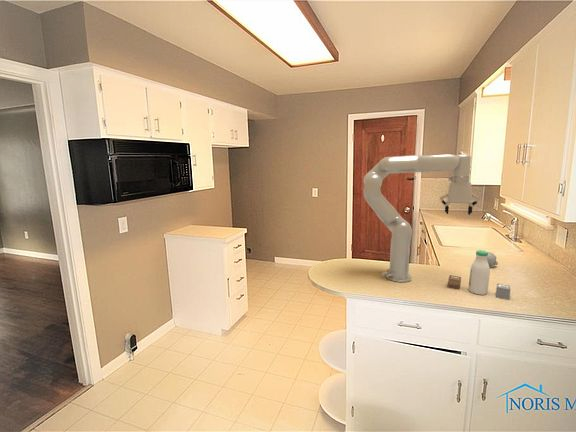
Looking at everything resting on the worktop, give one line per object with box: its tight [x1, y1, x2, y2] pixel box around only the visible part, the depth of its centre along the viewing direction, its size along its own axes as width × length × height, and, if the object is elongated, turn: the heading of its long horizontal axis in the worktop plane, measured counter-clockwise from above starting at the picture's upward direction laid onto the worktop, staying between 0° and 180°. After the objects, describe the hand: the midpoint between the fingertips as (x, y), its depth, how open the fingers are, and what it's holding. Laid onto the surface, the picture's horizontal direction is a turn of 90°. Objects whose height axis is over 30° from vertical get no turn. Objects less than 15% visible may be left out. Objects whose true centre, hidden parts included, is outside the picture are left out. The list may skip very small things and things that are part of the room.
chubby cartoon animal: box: [487, 251, 499, 269], centre depth 174 cm, size 7×12×8 cm, turn 109°
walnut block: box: [447, 274, 462, 291], centre depth 148 cm, size 5×5×5 cm
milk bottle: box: [468, 249, 491, 296], centre depth 141 cm, size 8×8×20 cm
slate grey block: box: [495, 282, 511, 301], centre depth 137 cm, size 5×5×5 cm
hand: (458, 214), depth 150 cm, fingers open, 9 cm apart
